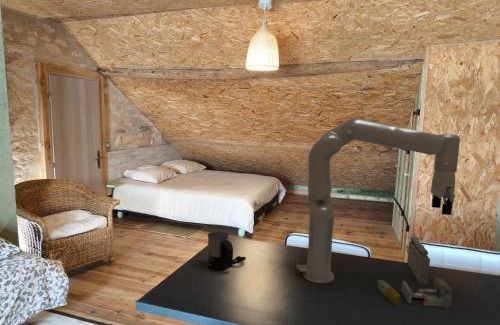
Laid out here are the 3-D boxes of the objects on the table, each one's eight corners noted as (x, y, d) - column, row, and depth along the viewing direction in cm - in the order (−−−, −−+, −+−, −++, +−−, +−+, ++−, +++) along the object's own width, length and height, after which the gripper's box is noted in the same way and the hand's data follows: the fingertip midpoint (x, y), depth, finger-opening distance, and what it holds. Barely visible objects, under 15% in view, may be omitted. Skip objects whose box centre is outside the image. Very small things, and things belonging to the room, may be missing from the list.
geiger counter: (434, 252, 132) (416, 231, 156) (417, 250, 133) (401, 230, 157) (430, 285, 134) (413, 259, 158) (413, 283, 135) (399, 258, 159)
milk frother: (203, 267, 145) (203, 235, 143) (224, 255, 158) (224, 225, 156) (229, 276, 137) (230, 242, 135) (249, 262, 151) (250, 231, 149)
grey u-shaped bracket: (427, 306, 118) (429, 288, 117) (419, 293, 127) (420, 276, 126) (450, 308, 117) (452, 290, 116) (439, 295, 126) (441, 277, 125)
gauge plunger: (409, 305, 118) (410, 294, 117) (401, 291, 127) (402, 280, 127) (443, 309, 116) (444, 297, 116) (432, 294, 126) (433, 283, 125)
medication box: (376, 288, 130) (377, 279, 130) (383, 288, 131) (383, 278, 130) (393, 306, 118) (394, 295, 118) (400, 305, 119) (401, 295, 118)
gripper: (426, 163, 135) (422, 204, 137) (444, 170, 118) (439, 216, 120) (446, 164, 134) (442, 205, 136) (467, 171, 117) (462, 218, 119)
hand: (440, 210), depth 128 cm, fingers open, 9 cm apart
